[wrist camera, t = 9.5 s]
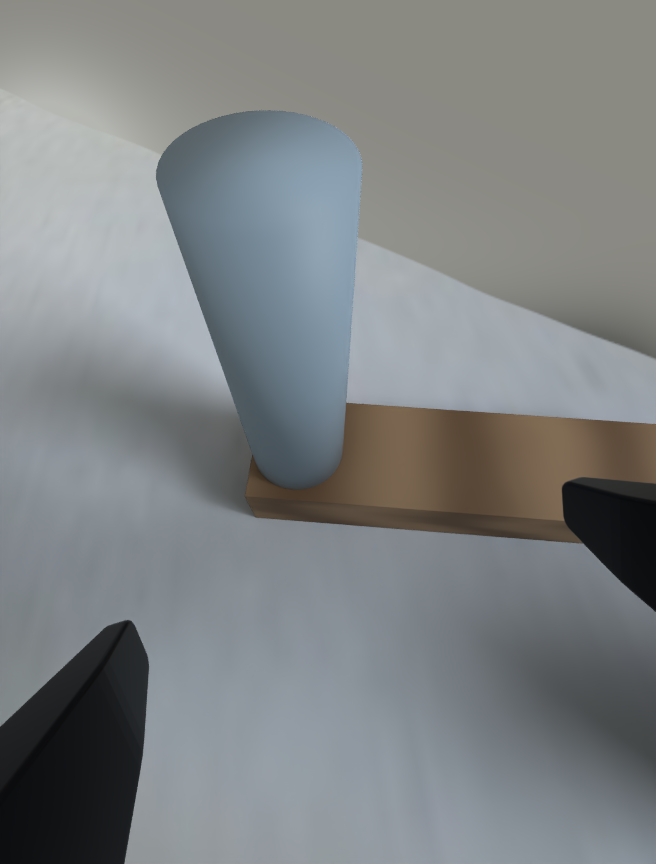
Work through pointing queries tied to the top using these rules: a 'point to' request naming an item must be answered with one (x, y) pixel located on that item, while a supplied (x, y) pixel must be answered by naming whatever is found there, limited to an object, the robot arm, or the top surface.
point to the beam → (461, 471)
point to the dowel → (273, 274)
